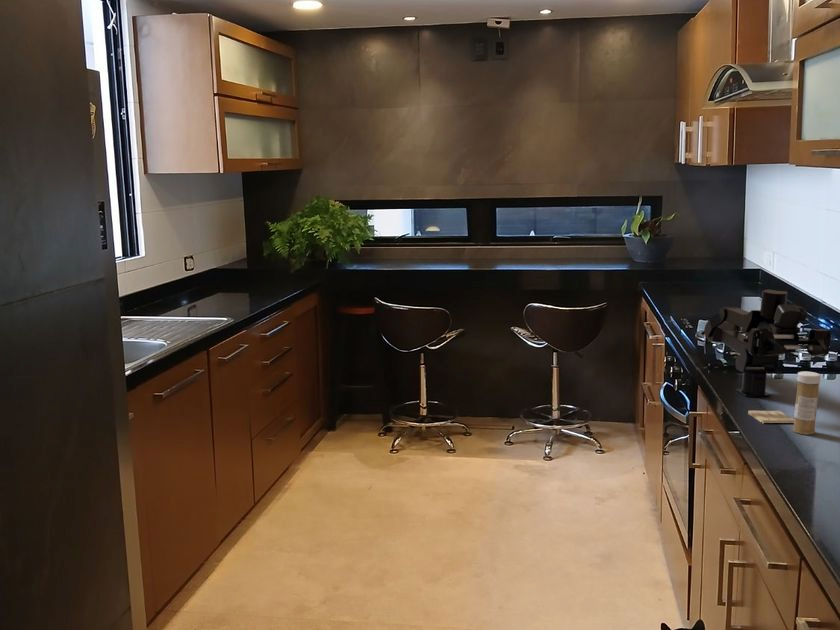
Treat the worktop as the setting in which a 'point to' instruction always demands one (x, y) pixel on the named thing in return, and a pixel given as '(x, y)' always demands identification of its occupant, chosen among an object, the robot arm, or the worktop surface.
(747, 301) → the worktop surface
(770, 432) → the worktop surface
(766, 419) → the trivet
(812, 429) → the sprinkles bottle
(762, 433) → the worktop surface
